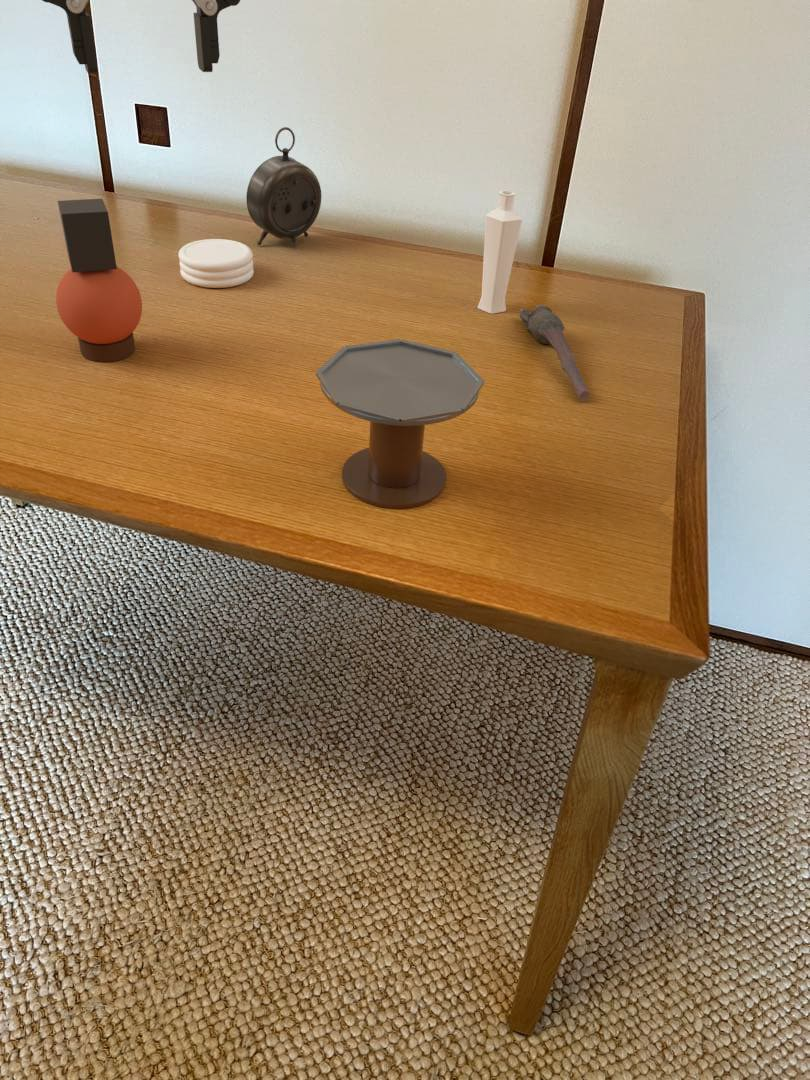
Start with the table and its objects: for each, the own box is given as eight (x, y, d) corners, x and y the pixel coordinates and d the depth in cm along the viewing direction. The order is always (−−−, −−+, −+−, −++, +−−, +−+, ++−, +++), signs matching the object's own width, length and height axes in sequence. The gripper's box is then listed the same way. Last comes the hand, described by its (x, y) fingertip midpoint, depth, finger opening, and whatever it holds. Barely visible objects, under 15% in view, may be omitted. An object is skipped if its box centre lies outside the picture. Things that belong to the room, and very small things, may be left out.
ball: (71, 373, 90) (51, 283, 83) (63, 338, 96) (44, 252, 89) (154, 362, 93) (141, 275, 86) (142, 329, 99) (129, 245, 92)
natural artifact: (529, 326, 109) (549, 302, 108) (584, 405, 92) (610, 378, 90) (508, 310, 107) (529, 285, 106) (562, 388, 90) (587, 360, 88)
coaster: (268, 279, 113) (266, 254, 111) (205, 295, 108) (203, 269, 106) (228, 257, 119) (226, 232, 116) (167, 271, 113) (164, 246, 111)
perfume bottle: (502, 317, 108) (519, 200, 99) (471, 310, 109) (485, 194, 100) (513, 305, 111) (531, 191, 102) (483, 298, 113) (498, 185, 103)
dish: (349, 535, 71) (352, 429, 64) (302, 451, 80) (299, 350, 74) (492, 505, 75) (508, 403, 68) (430, 429, 85) (439, 332, 78)
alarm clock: (307, 231, 129) (305, 119, 119) (327, 242, 126) (327, 128, 116) (247, 244, 123) (240, 127, 113) (266, 255, 120) (260, 136, 110)
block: (72, 272, 85) (61, 214, 82) (68, 257, 89) (57, 200, 85) (117, 269, 87) (107, 211, 83) (111, 254, 90) (102, 198, 86)
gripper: (212, -202, 57) (229, 62, 67) (-8, -226, 52) (46, 62, 63) (239, -207, 52) (253, 80, 62) (-3, -234, 47) (55, 82, 57)
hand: (149, 71), depth 62 cm, fingers open, 8 cm apart
